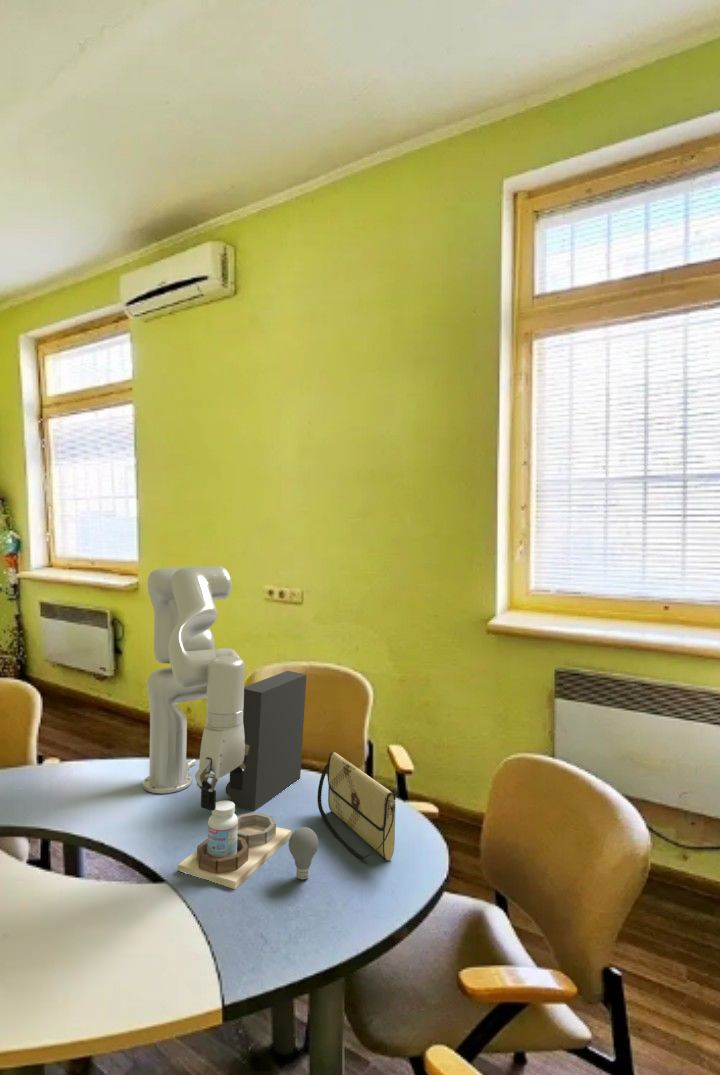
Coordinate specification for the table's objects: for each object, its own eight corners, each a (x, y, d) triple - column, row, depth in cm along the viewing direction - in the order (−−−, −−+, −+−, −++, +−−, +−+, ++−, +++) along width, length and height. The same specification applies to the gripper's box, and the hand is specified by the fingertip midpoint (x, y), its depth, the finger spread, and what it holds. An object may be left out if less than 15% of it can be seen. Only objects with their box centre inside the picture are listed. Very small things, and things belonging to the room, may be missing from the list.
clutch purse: (309, 813, 150) (310, 753, 150) (334, 807, 154) (335, 748, 154) (372, 874, 125) (374, 801, 125) (400, 865, 128) (402, 794, 128)
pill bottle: (200, 861, 125) (201, 807, 125) (220, 848, 131) (221, 796, 130) (223, 870, 122) (224, 814, 122) (243, 855, 128) (244, 802, 127)
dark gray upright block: (271, 772, 174) (273, 668, 174) (304, 780, 169) (306, 673, 169) (223, 802, 155) (225, 685, 155) (259, 812, 150) (261, 691, 150)
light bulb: (304, 866, 127) (305, 818, 127) (323, 878, 123) (324, 829, 123) (281, 877, 123) (282, 828, 123) (300, 890, 119) (301, 839, 118)
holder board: (239, 823, 144) (239, 807, 144) (291, 836, 139) (291, 819, 139) (177, 871, 124) (178, 852, 124) (235, 889, 119) (235, 869, 118)
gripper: (234, 703, 135) (231, 778, 136) (182, 727, 119) (180, 812, 120) (262, 708, 132) (260, 785, 133) (214, 734, 116) (212, 821, 117)
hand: (222, 798), depth 127 cm, fingers open, 9 cm apart
